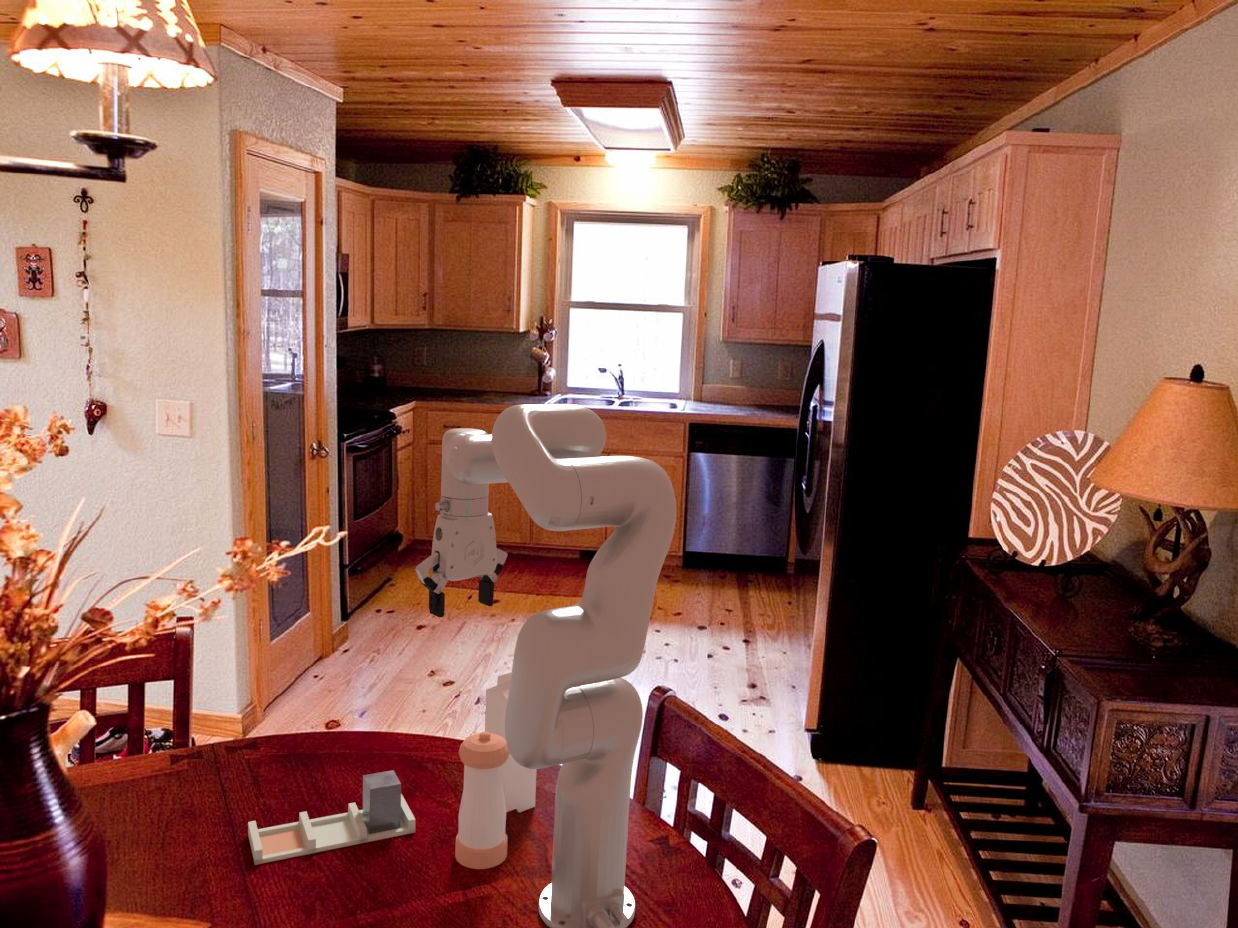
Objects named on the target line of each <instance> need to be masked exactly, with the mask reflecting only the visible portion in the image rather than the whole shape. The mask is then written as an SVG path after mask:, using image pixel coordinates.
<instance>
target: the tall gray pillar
mask: <svg viewBox="0 0 1238 928" xmlns="http://www.w3.org/2000/svg"><path fill="white" fill-rule="evenodd" d="M401 794H402V783H401V781H400V780H399V778H398V776H397V774H396V771H395V770H394V769H393V770H388V771H387V770H386V771H382V772H375V773H370V774H363V775H362V810H363V821H364V823H365V826H366V828H367V831H368V833H369V834H374V833H379V832H384V831H389V830H394V829H399V828H400V818H401Z"/></svg>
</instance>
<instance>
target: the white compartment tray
mask: <svg viewBox="0 0 1238 928" xmlns="http://www.w3.org/2000/svg"><path fill="white" fill-rule="evenodd" d="M347 806H348V807H347V811H348V812H343V813H338V814H337V813H336V814H332V815H326V816H321V817H317V818H315V817H314V818H311V819H310V817H309V814H308V811H307V810H306V811H301V812H299V813H298V815H299V816H298V821H295V822H290V823H283V824H278V825H273V826H268V827H263V828H258V826H257V821H256V820H252V821H251V820H250V821H248V822H247V826H248V827H247V833H248V834H247V836H248V840H249V844H250V849H251V854H252V858H253V863H254V866H257V865H260V864H266V863H270V862H275V861H280V860H281V861H282V860H286V859H290V858H294V857H295V858H296V857H300V856H306V855H311V854H315V853H320V852H321V853H322V852H325V851H326V852H327V851H330V850H331V851H332V850H335V849H340V848H345V847H350V846H354V845H360V844H364V843H370V842H374V841H380V840H385V839H390V838H393V837H398V836H399V837H400V836H404V835H408V834H414V833H416V818H415V815H414V814H413V812H412V810H411V809H410V808H411V807H409V805H408V803H407V801H406V799H405V797H404V795H403V794H402V793H401V818H400V828H399V829H394V830H389V831H384V832H379V833H374V834H369V833H368V831H367V828H366V826H365V823H364V821H363V809H359V808H358V806H357V804H356V802H350V803H348V805H347Z"/></svg>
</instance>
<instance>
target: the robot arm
mask: <svg viewBox="0 0 1238 928" xmlns="http://www.w3.org/2000/svg"><path fill="white" fill-rule="evenodd" d="M606 442H607V430H606V427H605V424H604V422H603V420H602V419H601V417H600V416H599V415H598V414H597V413H596V412H595V411H593V410H592V409H590V408H588V407H586V406H583V405H579V404H573V403H540V404H538V403H537V404H535V403H534V404H533V403H528V404H525V403H524V404H515V405H511V406H510V407H507V408H506V409H504V410H503V411H502V412H501V413H500V414H499V415H498V416H497V418H496V419H495V421H494V424H493V427H492V432H491V434H489V433H488V432H486V431H485V430H482V429H479V428H478V429H477V428H467V427H464V428H463V427H460V428H458V427H457V428H451V429H448V430H446V431H445V432H444V433H443V436H442V441H441V481H440V486H441V487H440V500H439V501H438V502H436V503H435V504H434V508H435V510H436V511H438V512H439V511H440V512H439V513H440V514H438V515H437V517H436V520H435V526H434V528H433V529H434V530H433V538H432V544H431V545H432V547H431V555H429V556H428V557H427V558H426V559H424V560H422V562H420V563H419V564H417V565H416V566H415V569H414V570H415V572H416V574H417V576H418V579H419V582H420V583H421V584H422V585H423V586H424V587H425V589H426V590H427V591H428V610H429V613H430V614H431V615H433V616H436V617H438V618H443V617H444V616H445V608H446V607H445V606H446V605H445V603H446V601H445V599H446V593H445V592H443V590H444V588H445V587H446V585H447V583H449V581H451V582H456V581H458V582H459V581H462V580H468V579H473V578H477V577H481V578H479V581H478V602H479V603H480V604H481V605H484V606H488V607H492V606H494V597H495V596H494V595H495V583H496V582H497V581H498V579H499V578H498V576H499V575H500V573H501V572H502V571H503V569H504V564H505V563H506V560H507V557H508V553H507V552H506V551H504V550H502V549H500V548H498V547H497V535H496V528H495V522H494V517H493V514H492V513H491V512H489V495H490V484H506V483H509V486H510V487H511V488H512V489H513V492H514V493H515V495H516V496H517V499H518V500H519V501H520V503H521V505H522V507H523V509H524V510H525V511H526V513H527V514H528V516H529V517H530V519H532V521H533V522H534V523H535V524H536V525H538V526H539V527H541V528H542V529H545V530H547V531H551V532H552V531H553V532H566V531H575V530H576V531H577V530H585V529H597V528H599V529H600V528H607V527H613V528H614V531H613V532H612V533H611V534H610V535H609V537H608V538H607V539H606V540H605V541H604V542H603V543H602V545H600V547H599V549H598V550H597V551H596V553H595V555H594V556H593V558H592V559H591V561H590V563H589V566H588V568H587V570H586V577H585V583H584V588H583V592H582V596H581V598H580V600H579V601H578V602H577V603H576V604H574V605H570V606H564V607H557V608H556V607H555V608H551V609H550V608H549V609H546V610H542V611H538V612H537V613H535V614H532V616H530V617H529V618H528V619H527V620H525V622H524V624H523V625H522V626H521V628H520V631H519V633H518V635H517V638H516V643H515V648H514V654H513V660H512V668H511V672H512V673H511V680H510V687H509V694H508V701H507V708H506V717H505V735H506V742H507V746H508V749H509V752H510V754H511V756H512V757H513V759H514V760H515V761H516V762H517V763H518V764H519V765H521V766H523V767H525V768H529V769H537V770H538V769H539V770H540V769H546V768H550V767H555V766H560V765H561V767H560V769H559V772H558V775H557V778H556V779H557V780H556V784H555V796H554V797H555V798H554V817H553V818H554V820H553V821H554V822H553V843H552V864H551V865H552V867H551V870H552V871H551V883H549V884H548V885H547V886H546V887H544V889H543V890H542V892H541V893H540V894H539V895H540V896H539V898H538V914H539V916H540V918H541V920H542V921H543V922H544V924H545V925H546V926H547V927H549V928H628V926H629V925H630V924H632V922H633V920H634V918H635V913H636V901H635V897H634V896H633V894H632V892H631V891H630V890H629V888H627V887H626V886H625V882H626V867H627V865H626V864H627V851H628V850H627V848H628V834H629V833H628V831H629V815H630V812H629V811H630V799H631V786H632V785H631V782H632V774H633V772H632V771H633V764H634V758H635V754H636V750H637V747H638V742H639V739H640V734H641V732H642V726H643V718H644V717H643V715H644V714H643V712H644V711H643V705H642V700H641V697H640V694H639V692H638V691H637V689H636V688H635V686H634V685H633V684H632V683H630V682H629V681H628V680H627V679H624V678H623V677H626V676H628V675H631V674H632V673H633V672H635V670H636V669H637V668H638V667H639V665H640V663H641V659H642V656H643V654H644V650H645V645H646V642H647V635H648V630H649V626H650V620H651V616H652V610H653V606H654V600H655V596H656V595H655V594H656V589H657V584H658V581H659V577H660V573H661V572H662V571H661V570H662V568H663V565H664V563H665V559H666V557H667V555H668V552H669V550H670V547H671V544H672V542H673V537H674V533H675V529H676V522H677V500H676V494H675V490H674V485H673V484H672V481H671V478H670V476H669V475H668V473H667V472H666V470H665V469H664V468H663V467H662V466H661V465H659V464H658V463H657V462H655V461H654V460H651V459H648V458H644V457H639V456H632V455H608V456H607V455H606V456H604V455H603V456H600V455H601V453H602V452H603V451H604V447H605V446H606ZM430 570H431V572H432V575H431V576H430V574H429V571H430Z"/></svg>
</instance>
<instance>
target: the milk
mask: <svg viewBox="0 0 1238 928" xmlns="http://www.w3.org/2000/svg"><path fill="white" fill-rule="evenodd" d="M511 673H512V671H511V672H506V673H502V674H499V675H498V676H497V680H496V681H497V682H496V683H497V684H496V685H494V686H492V687H489V688H486V689H485V711H484V712H485V717H484V731H486V732H489V733H492V734H496V735H499V736H501V737H503V738H504V739H505V740H506V735H505V717H506V708H507V701H508V694H509V687H510V680H511ZM537 770H538V769H529V768H525V767H523V766H521V765H519V764H518V763H517V762H516V761H515V760H514V759H513V757H512V756H511V754H509V757H508V759H507V760H506V762H505V763H504V767H503V792H504V800H505V807H506V813H508V812H511V811H514V810H516V811H517V812H518V813H522V812H524V811H527V810H530V809H533V808H535V807H536V793H537V791H536V790H537Z"/></svg>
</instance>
